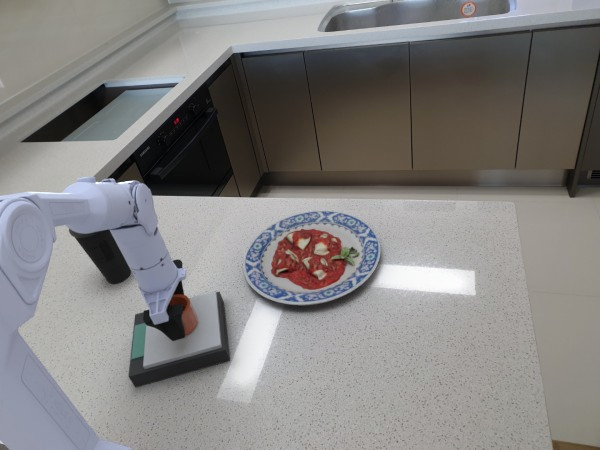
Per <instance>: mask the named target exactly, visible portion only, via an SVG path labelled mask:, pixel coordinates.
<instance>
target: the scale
mask: <svg viewBox="0 0 600 450" xmlns="http://www.w3.org/2000/svg"><path fill="white" fill-rule="evenodd" d="M188 298H189V299H190V301H191V303H192V305H193V308H194V310H195V312H196V314H197V318H198V322H197V325H196V327H195V329H194V330H193V331H192V332H191V333H190V334H188V335H186V336H185V338H182V339H179V340H175V341H172V340H171V339H169V338H168V337H167V336H166V335H165V334H164V333H162V332H161V331H160V330H158V329H156V328H153V327H150V326H147V325H146V324H145V322H144V321H143V313H144V311H142V312H139V313H135V314H134V320H133V331H132V339H131V350H130V359H129V367H128V368H129V369H128V377H127V378H128V379H129V380H130V381H131V384H133V386H134V387H135V388H137V387H142V386H144V385H148V384H152V383H155V382H158V381H162V380H166V379H169V378H172V377H176V376H181V375H184V374H187V373H191V372H195V371H198V370H201V369H206V368H208V367H212V366H215V365H219V364H223V363H227V362H230V361H231V356H230V346H229V337H228V328H227V319H226V310H225V309H226V308H225V301H224V299H223V296H222V294H221V291H214V290H213V291H210V292H206V293H203V294H199V295H195V296H192V297H188ZM147 310H149V308H148V309H147Z"/></svg>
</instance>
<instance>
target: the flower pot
mask: <svg viewBox="0 0 600 450" xmlns="http://www.w3.org/2000/svg"><path fill="white" fill-rule="evenodd" d="M189 298H190V297H188V296H187V295H185V294H184V295H182V294H176V295H173V296H172V298H171V300H170V302H169V304H170V305H171V306H173V305H177V304H180V303H183V312H182V321H183V325H184V329H185V336H186V335H188V334H190V333H191V332H192V331H193V330H194V329H195V327H196V325H197V322H198V318H197V314H196V312H195V310H194V308H193V305H192V303H191V301H190V299H189ZM169 304H168V305H169Z"/></svg>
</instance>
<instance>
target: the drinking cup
mask: <svg viewBox="0 0 600 450" xmlns="http://www.w3.org/2000/svg"><path fill="white" fill-rule="evenodd" d="M68 233H69V235H70V236H71V237H73V238H74V239H75V240H76V241H77V243H78V244H79V246H80V247H81V248H82V250H83V251H84V252H85V253H86V255H87V256H88V257H89V259H90V260H91V261H92V263H93V264H94V265H95V267H96V268H97V270H98V271H99V272H100V274H102V276H103V277H104V279H105V280H106V282H108V283H109V284H111V285H116V284H120V283H123V282H124V281H125V280H127V279H128V278H129V277H130V276H131V273H132V271H131V269H130V267H129V266H128V264H127V262H126V260H125V258H124V256H123V254H122V252H121V251H120V249H119V247H118V245H117V243H116V241H115V239H114V237H113V236H112V234H111V232H110V229H108V230H103V231H98V232H93V233H87V234H83V233H77V232H74V231H72V230H71V229H69V228H68Z"/></svg>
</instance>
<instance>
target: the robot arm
mask: <svg viewBox="0 0 600 450" xmlns="http://www.w3.org/2000/svg"><path fill="white" fill-rule="evenodd" d="M158 218H159V217H158V214H157V213H156V209H155V204H154V197H153V194H152V191H151V188H149V187H148V186H147V185H146V184H145V183H142V182H140V181H138V180H134V179H133V180H128V181H121V182H116V179H114V178H104V179H102V180H101V181H97V180H96V177H95V176H83V177H78V178H77V179H76V182H74V183H72V184H70V185H68V186H67V187H65V189H64V190H63V191H62V192H45V191H44V192H41V191H25V192H17V193H11V194H4V195H3V194H2V195H0V442H1V443H2V445H4V446H5V447H6V448H7V449H8V450H133V449H132V448H131V447H130V446H127V445H124V444H120V443H116V442H113V441H109V440H106V439H102V438H100V437H99V435H98V434H97V433H96V432H95V431H94V429H93V428H92V427H91V426H90V424H89V423H88V421H87V420H86V419H85V417H84V416H83V415H82V413H80V411H79V410H78V408H77V407H76V406H75V404H74V403H73V402H72V400H71V399H70V398H69V396H68V395H67V394H66V392H65V391H64V390H63V389H62V387H61V386H60V385H59V383H58V382H57V381H56V379H55V378H54V377H53V375H52V374H51V373H50V371H49V370H48V369H47V368H46V367H45V365H44V364H43V363H42V361H41V360H40V358H39V357H38V356H37V354H36V353H35V352H34V351H33V349H32V348H31V347H30V345H29V344H28V343H27V342H26V340H25V339H24V338H23V336H22V334H20V332H19V329H20V327H22V326H23V325H25V324H26V323H27V322H29V320H31V319H32V318H34V316H35V313H36V311H37V306H38V302H39V300H40V296H41V294H42V293H41V292H42V289H43V286H44V283H45V279H46V275H47V273H48V270H49V266H50V262H51V257H52V254H53V250H54V244H55V243H56V241H57V239H58V238H57V231H56V228H57V227H61V226H66V227H67V228H68V230H69V229H71V230H72V231H74V232H77V233H83V234H87V233H93V232H98V231H103V230H108V229H110V232H111V234H112V236H113V237H114V239H115V241H116V243H117V245H118V247H119V249H120V251H121V252H122V254H123V256H124V258H125V260H126V262H127V264H128V266H129V267H130V270H131V273H132V275H133V277H134V279H135V281H136V283H137V285H138V290H139V291H140V293H141V296H142V298H143V300H144V301H145V303H146V305H147V306H146V307H148V309H149V310H148V309H146V310H143V312H144V313H143V321H144V322H145V324H146V325H147V326H150V327H153V328H156V329H158V330H160V331H161V332H162V333H164V334H165V335H166V336H167V337H168V338H169V339H171V340H172V341H175V340H179V339H182V338H185V329H184V325H183V321H182V312H183V303H180V304H177V305H173V306H171V305H170V304H169V302H170V300H171V298H172V296H173V295H176V294H182V295H185V290H184V287H183V286H184V285H183V281H184V280H186V279H187V270H186V268H185V267H183V262H182V260H181V259H178V258H177V259H173V258H172V256H171V254H170V251H169V249H168V247H167V245H166V243H165V241H164V238H163V235H162V233H161V232H160V230H159V227H158V224H159V219H158ZM168 304H169V305H168Z"/></svg>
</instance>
